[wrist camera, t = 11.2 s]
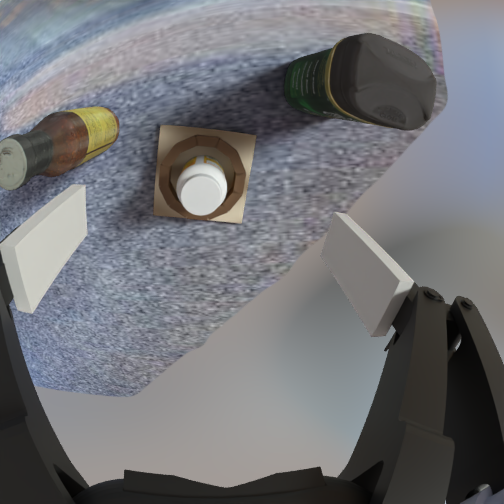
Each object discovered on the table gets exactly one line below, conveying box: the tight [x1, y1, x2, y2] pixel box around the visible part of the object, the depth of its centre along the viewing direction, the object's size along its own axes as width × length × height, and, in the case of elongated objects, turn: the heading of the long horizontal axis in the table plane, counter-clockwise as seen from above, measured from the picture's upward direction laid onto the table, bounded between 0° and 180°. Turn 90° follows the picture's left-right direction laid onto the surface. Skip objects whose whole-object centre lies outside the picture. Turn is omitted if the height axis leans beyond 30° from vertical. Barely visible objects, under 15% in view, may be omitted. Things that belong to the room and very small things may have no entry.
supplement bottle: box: [176, 155, 227, 216], centre depth 31 cm, size 5×5×10 cm
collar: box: [153, 125, 257, 223], centre depth 35 cm, size 12×12×3 cm
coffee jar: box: [284, 33, 436, 130], centre depth 24 cm, size 10×8×19 cm
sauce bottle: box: [0, 107, 119, 190], centre depth 22 cm, size 7×6×20 cm
